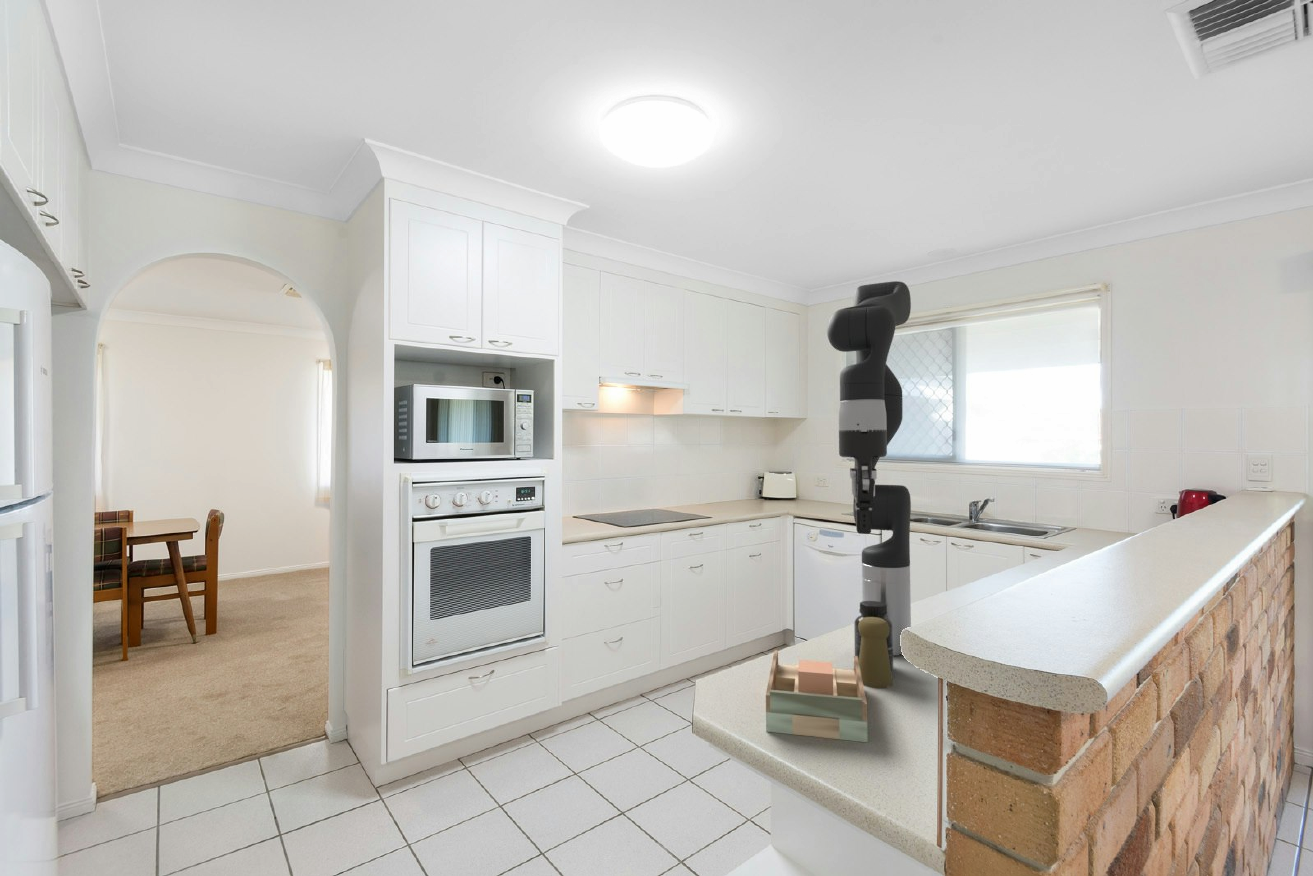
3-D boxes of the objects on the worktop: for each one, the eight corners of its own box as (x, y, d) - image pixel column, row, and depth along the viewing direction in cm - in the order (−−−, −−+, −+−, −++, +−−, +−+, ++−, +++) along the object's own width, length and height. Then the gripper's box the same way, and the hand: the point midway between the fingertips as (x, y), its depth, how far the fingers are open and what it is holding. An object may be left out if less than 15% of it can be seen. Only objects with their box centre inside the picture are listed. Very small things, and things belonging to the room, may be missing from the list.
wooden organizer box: (774, 680, 109) (774, 647, 109) (857, 687, 106) (857, 653, 106) (766, 731, 90) (765, 691, 90) (867, 742, 86) (866, 700, 86)
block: (799, 692, 96) (799, 659, 96) (832, 695, 95) (832, 662, 95) (798, 705, 92) (798, 671, 92) (833, 708, 90) (833, 674, 90)
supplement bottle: (899, 675, 111) (898, 608, 111) (861, 675, 111) (860, 608, 111) (886, 661, 118) (885, 598, 118) (850, 661, 118) (849, 599, 118)
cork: (887, 675, 111) (886, 614, 111) (897, 688, 105) (896, 623, 105) (853, 674, 111) (852, 613, 112) (860, 687, 105) (859, 623, 106)
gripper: (837, 429, 109) (838, 527, 109) (840, 427, 96) (841, 538, 96) (882, 428, 107) (883, 528, 107) (891, 427, 95) (892, 540, 94)
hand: (863, 533), depth 102 cm, fingers closed
